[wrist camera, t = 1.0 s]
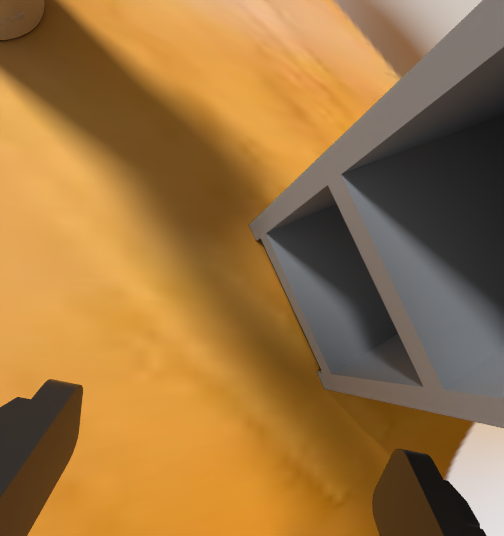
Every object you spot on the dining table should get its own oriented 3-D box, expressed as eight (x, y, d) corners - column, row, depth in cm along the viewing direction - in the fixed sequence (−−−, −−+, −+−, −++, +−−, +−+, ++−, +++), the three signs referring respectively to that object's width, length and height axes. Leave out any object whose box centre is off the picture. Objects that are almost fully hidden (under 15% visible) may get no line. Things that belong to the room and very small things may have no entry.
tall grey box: (248, 224, 38) (715, -224, 8) (389, 170, 45) (903, -167, 15) (324, 388, 37) (1155, 571, 7) (455, 305, 44) (1130, 226, 15)
